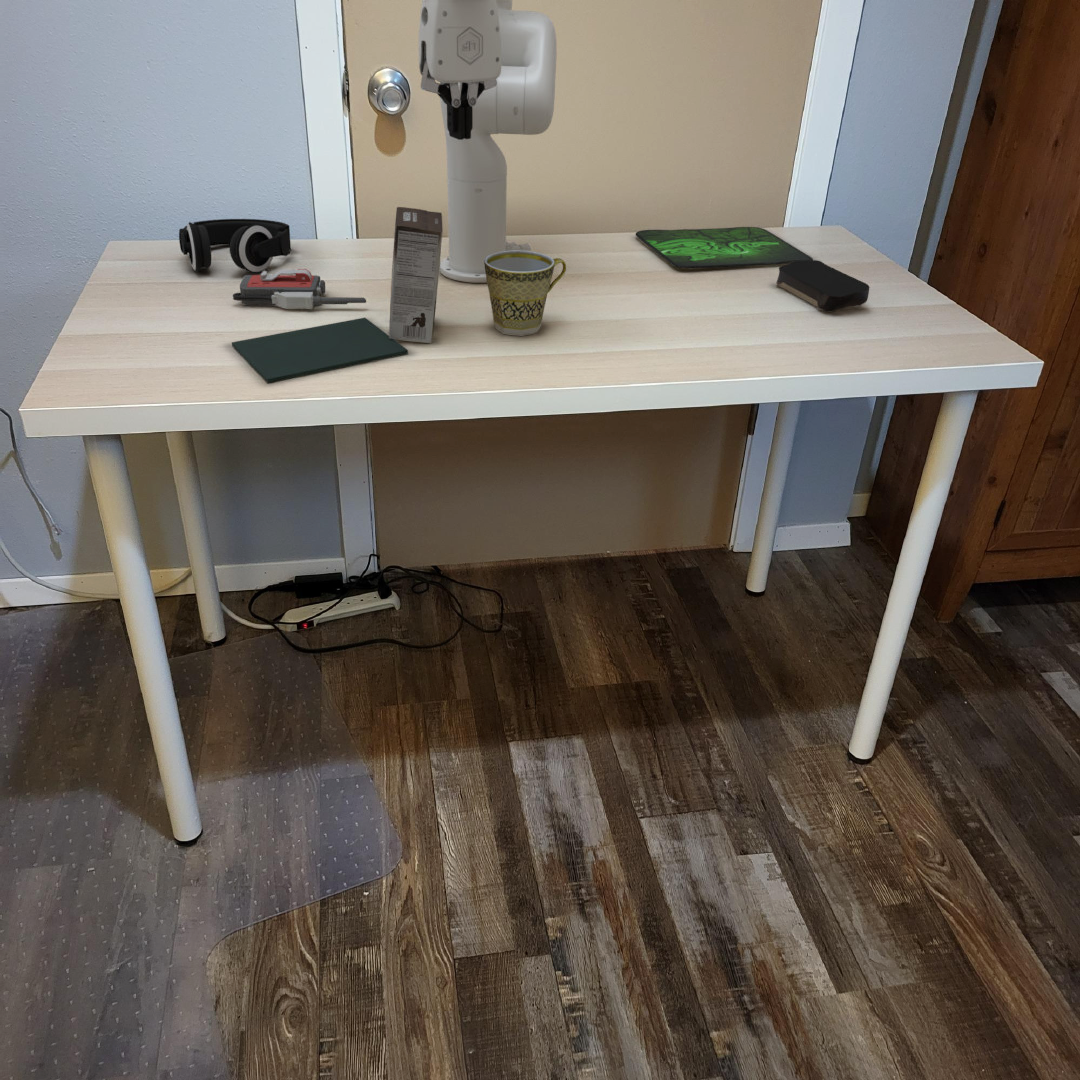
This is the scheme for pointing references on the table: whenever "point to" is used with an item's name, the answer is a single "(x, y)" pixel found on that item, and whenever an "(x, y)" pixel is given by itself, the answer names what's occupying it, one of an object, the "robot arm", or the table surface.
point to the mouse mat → (721, 247)
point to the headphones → (236, 242)
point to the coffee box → (415, 274)
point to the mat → (317, 349)
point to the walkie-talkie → (287, 290)
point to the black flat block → (822, 285)
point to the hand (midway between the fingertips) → (460, 137)
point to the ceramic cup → (519, 289)
